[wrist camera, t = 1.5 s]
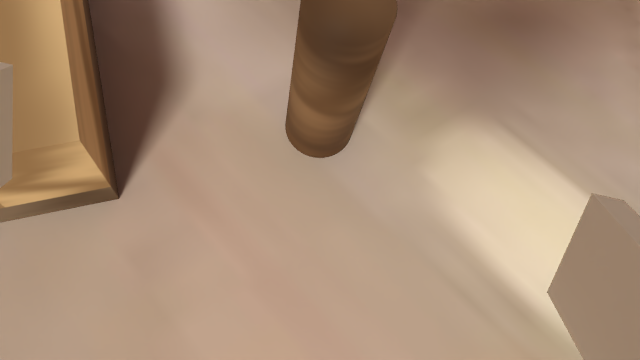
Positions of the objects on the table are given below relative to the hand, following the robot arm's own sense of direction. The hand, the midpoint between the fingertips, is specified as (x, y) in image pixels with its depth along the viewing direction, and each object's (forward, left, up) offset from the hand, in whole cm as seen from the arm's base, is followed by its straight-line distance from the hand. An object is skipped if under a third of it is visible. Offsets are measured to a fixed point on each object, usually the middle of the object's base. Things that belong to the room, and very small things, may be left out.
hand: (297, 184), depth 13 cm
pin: (-5, -10, -20) cm, 22 cm away
